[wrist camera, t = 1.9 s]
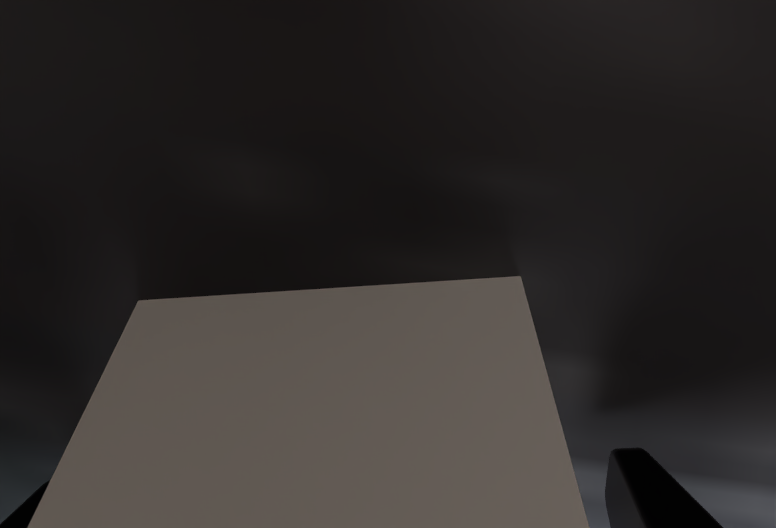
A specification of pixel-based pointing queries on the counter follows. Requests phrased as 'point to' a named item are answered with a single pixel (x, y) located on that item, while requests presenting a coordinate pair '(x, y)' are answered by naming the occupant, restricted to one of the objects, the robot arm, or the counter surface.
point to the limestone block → (322, 415)
